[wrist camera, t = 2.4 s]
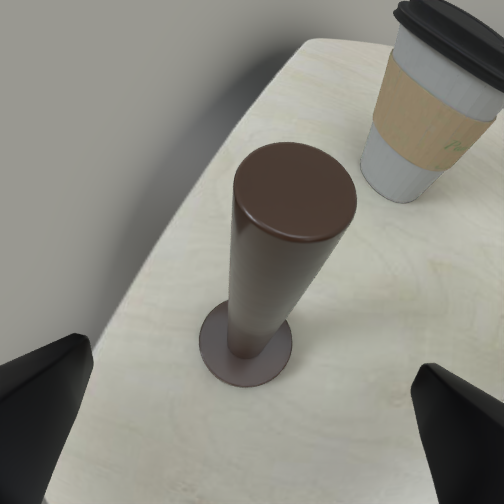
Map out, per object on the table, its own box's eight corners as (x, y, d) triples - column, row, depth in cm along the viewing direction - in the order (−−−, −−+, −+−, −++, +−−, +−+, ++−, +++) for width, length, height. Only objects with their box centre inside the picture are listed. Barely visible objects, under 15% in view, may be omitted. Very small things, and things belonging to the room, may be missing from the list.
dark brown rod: (294, 381, 17) (470, 316, 4) (204, 391, 16) (128, 365, 3) (282, 298, 19) (379, 100, 6) (197, 305, 18) (150, 97, 6)
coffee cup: (426, 243, 21) (553, 98, 8) (321, 180, 23) (389, -9, 10) (443, 170, 25) (522, 49, 12) (358, 120, 27) (410, -19, 14)
